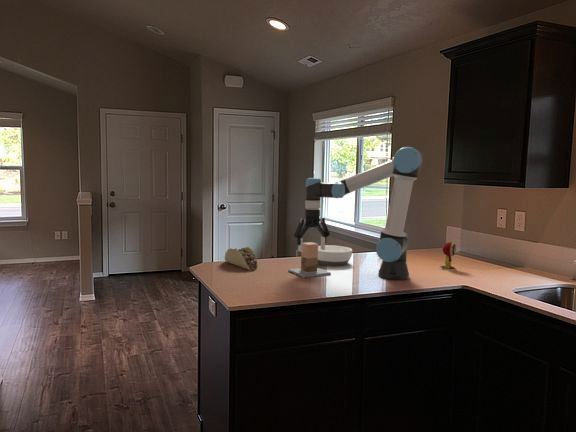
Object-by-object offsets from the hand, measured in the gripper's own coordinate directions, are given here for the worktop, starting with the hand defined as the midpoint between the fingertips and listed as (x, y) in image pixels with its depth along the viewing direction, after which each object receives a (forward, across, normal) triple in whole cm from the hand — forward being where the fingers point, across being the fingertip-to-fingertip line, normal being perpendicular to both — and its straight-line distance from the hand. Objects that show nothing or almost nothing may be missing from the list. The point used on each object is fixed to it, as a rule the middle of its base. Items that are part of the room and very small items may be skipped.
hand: (311, 250), depth 252 cm
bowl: (+12, -25, -17) cm, 33 cm away
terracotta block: (+3, +1, 0) cm, 3 cm away
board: (+11, +1, 0) cm, 12 cm away
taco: (+11, +26, -29) cm, 41 cm away
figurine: (+13, -77, +20) cm, 80 cm away
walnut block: (+10, +1, 0) cm, 10 cm away
